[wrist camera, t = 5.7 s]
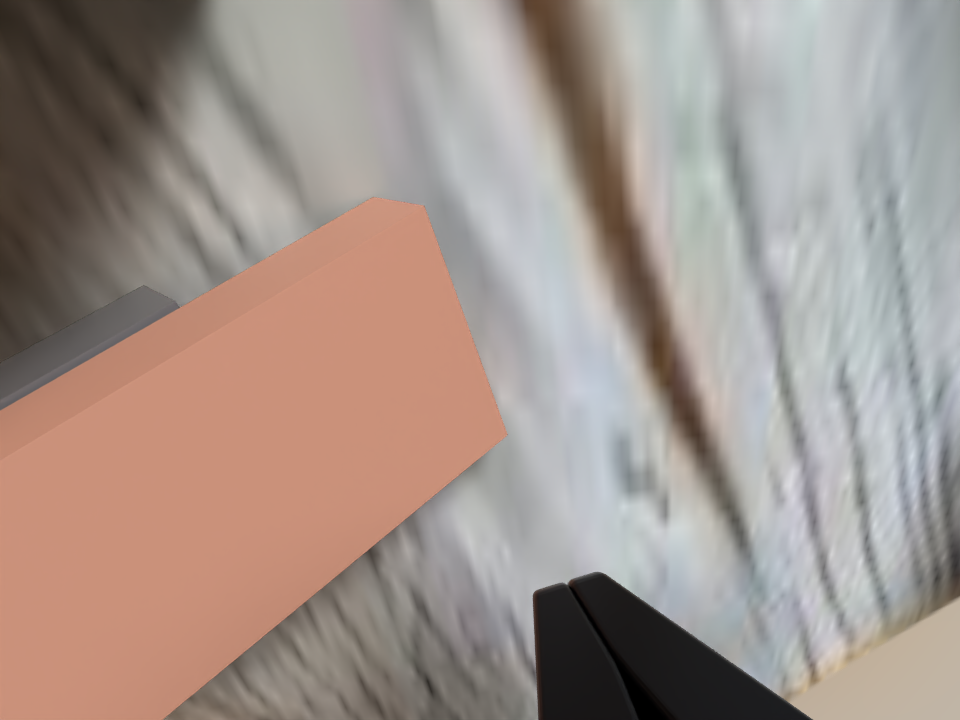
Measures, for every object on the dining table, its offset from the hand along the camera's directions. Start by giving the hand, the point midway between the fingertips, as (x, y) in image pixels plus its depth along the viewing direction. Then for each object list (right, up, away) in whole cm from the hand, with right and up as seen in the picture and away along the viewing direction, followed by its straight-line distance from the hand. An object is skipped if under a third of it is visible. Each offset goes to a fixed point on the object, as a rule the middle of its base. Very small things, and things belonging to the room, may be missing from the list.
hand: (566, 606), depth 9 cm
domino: (-2, +4, +5) cm, 7 cm away
